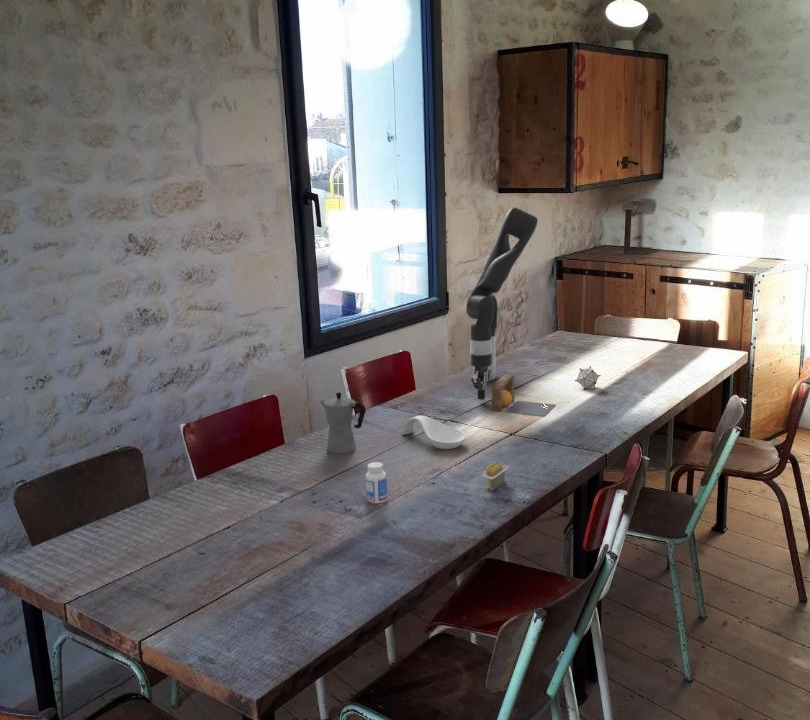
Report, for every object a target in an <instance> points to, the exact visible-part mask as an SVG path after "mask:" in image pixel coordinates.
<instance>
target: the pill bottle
mask: <svg viewBox="0 0 810 720" xmlns="http://www.w3.org/2000/svg"><path fill="white" fill-rule="evenodd" d="M387 477H388V476H387V472H385V471H384V464H383V463H382V462H379V461H374V462H370V463H368V464H367V472H366V474H365V486H366V487H365V488H366V489H365V490H366V499H367V502H368V503H371V504H382V503H385V502H386V501H388V481H387V480H388V479H387Z"/></svg>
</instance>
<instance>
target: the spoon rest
mask: <svg viewBox="0 0 810 720" xmlns="http://www.w3.org/2000/svg"><path fill="white" fill-rule="evenodd" d="M416 421H417V422H418V423H420V425H421V426H422V429H423V433H424V434H425V437H426V438H427V439H428V441H429V443H430V444H431V445H432V446H434V447H435V448H437V449H439V450H452V449H456V448H458V447H459V446H461V445H462V444H463V443H464V442H465V440H466V439H467V435H466V434H465V433H464V432H463V431H461V430H459V429H457V428H454V427H452V426H450V425H447V424H445V423H443V422H440V421H438V420H436V419H433V418H431V417H428V416H426V415H416V416H414V417H413V416H412V417H409V418H408V419H406V420H405V422H404V423H403V425H402V429H401V435H402V436H406V435H409V434H412V433H413V432H414V424H415V422H416Z"/></svg>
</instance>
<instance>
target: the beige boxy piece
mask: <svg viewBox="0 0 810 720" xmlns="http://www.w3.org/2000/svg"><path fill="white" fill-rule="evenodd" d="M485 468H486V470H484V471H483V472H482V477H484V478H486V479H487V489H489V491H490V492H493V491H494V490H495V489H497V488H499V486H501V485H502V484H504V483H505V481H506V476H505V475H506V474H505V472H506V470H508V469H509V468H510V465H509V464H504V463H503V461H501V462H500V463H498V464H497V461H494V462H493V463H491V464H489V465H488V466H486V467H485Z"/></svg>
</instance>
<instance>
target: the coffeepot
mask: <svg viewBox="0 0 810 720" xmlns="http://www.w3.org/2000/svg"><path fill="white" fill-rule="evenodd" d="M335 395H336V397H333V398H330V399H328V398H327V399H323V400H320V401H319V403H320V404H321V406H323V408H324V410H325V415H326V420H327V424H328V425H329V430H328V437H327V443H326V445H327V446H326V451H327V452H328V453H330V454H336V455H345V454H349V453H352V452H354V451H355V450H356V446H357V444H356V441H355V440H356V439H355V435H354V431H353V427H354V428H355V429H361V427H362V425H363V421H364V418H365V414H366V410H367V409H366V407H365V405H364V404H363V403H362V402H359V401H355V400H354V399H351V398H349V397H342V392H336V393H335ZM354 409H359V410H360V411H359V414H358V418H357V424H354V425H353V427H352V423H353V414H354Z"/></svg>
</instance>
